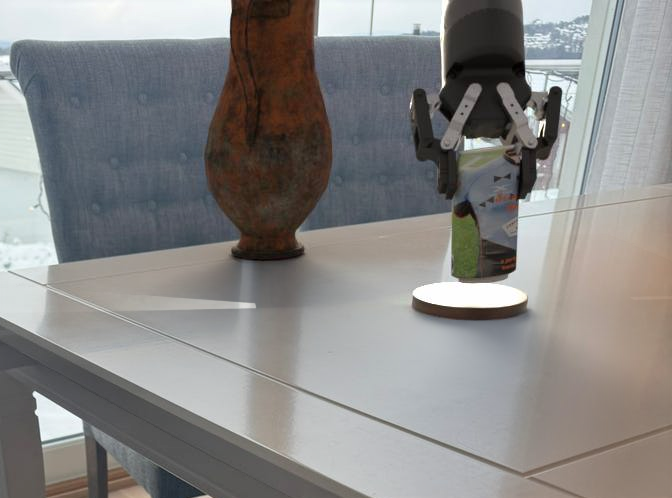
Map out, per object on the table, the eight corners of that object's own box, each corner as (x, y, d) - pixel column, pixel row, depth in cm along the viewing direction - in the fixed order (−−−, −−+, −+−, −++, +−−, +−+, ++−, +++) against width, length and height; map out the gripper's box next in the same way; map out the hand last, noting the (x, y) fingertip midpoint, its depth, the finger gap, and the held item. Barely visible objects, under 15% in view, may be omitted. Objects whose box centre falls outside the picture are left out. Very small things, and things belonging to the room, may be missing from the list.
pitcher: (342, 244, 131) (358, -17, 115) (299, 275, 114) (311, -24, 98) (231, 238, 136) (231, -11, 120) (175, 267, 120) (166, -17, 103)
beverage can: (503, 293, 87) (528, 150, 81) (427, 284, 90) (446, 145, 84) (520, 280, 92) (546, 143, 85) (448, 271, 95) (467, 139, 88)
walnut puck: (505, 310, 98) (509, 280, 96) (537, 339, 89) (543, 306, 87) (400, 313, 98) (403, 283, 96) (422, 341, 89) (425, 309, 87)
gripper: (412, 7, 86) (414, 166, 82) (572, 2, 85) (581, 164, 81) (399, 72, 93) (401, 221, 89) (546, 69, 92) (554, 219, 88)
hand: (487, 193), depth 85 cm, fingers closed on beverage can, 6 cm apart
